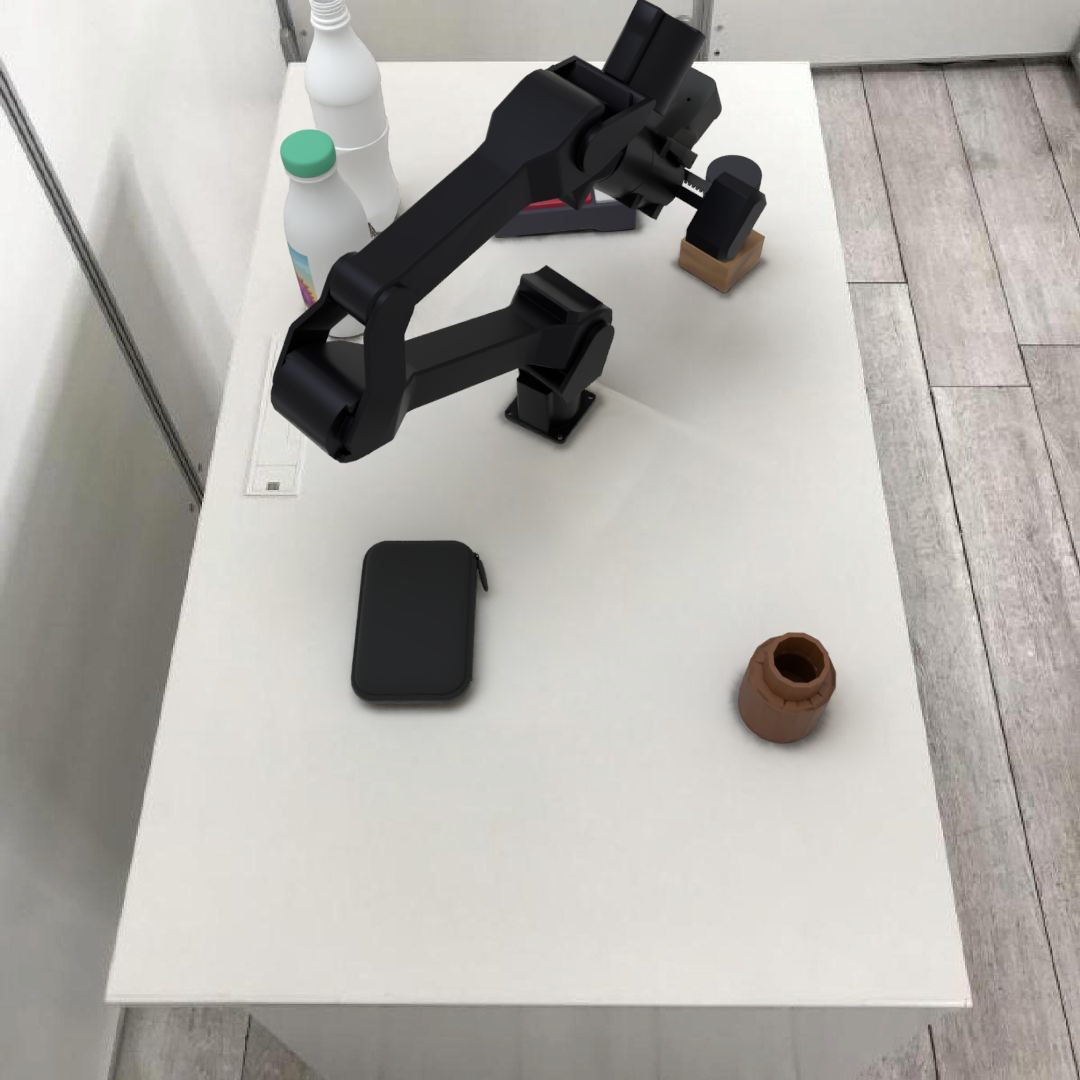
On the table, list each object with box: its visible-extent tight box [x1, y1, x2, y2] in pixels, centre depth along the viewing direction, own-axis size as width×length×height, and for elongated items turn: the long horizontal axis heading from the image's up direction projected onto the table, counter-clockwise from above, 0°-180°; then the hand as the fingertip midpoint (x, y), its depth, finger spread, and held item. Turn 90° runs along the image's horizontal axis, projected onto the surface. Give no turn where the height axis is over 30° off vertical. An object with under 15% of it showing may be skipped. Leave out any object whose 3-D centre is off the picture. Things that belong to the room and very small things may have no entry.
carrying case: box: [350, 539, 489, 704], centre depth 87 cm, size 11×3×15 cm
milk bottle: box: [279, 128, 373, 338], centre depth 99 cm, size 8×8×20 cm
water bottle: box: [303, 0, 401, 233], centre depth 103 cm, size 7×7×25 cm
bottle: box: [737, 631, 837, 744], centre depth 81 cm, size 6×6×8 cm
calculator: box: [494, 188, 637, 238], centre depth 113 cm, size 11×4×15 cm
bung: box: [702, 154, 763, 236], centre depth 103 cm, size 5×5×8 cm
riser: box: [677, 228, 766, 294], centre depth 108 cm, size 6×6×4 cm
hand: (693, 197), depth 97 cm, fingers open, 9 cm apart
